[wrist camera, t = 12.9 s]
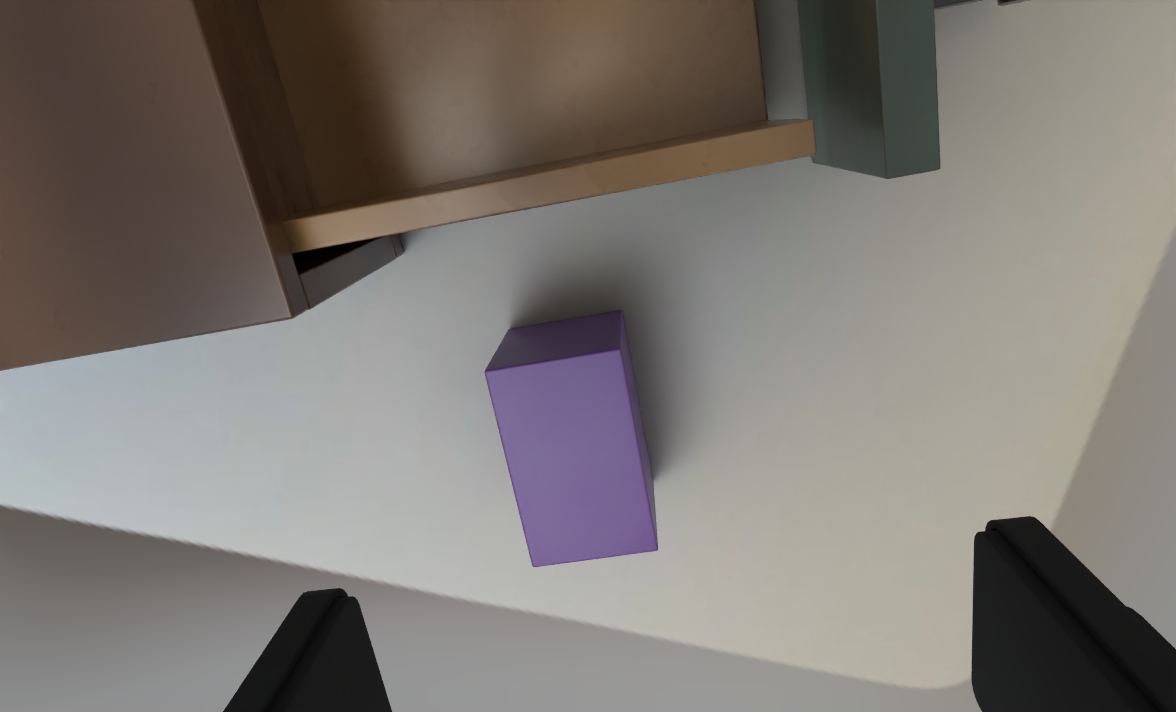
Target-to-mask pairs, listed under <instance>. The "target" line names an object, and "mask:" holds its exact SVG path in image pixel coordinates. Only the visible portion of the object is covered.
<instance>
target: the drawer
mask: <svg viewBox="0 0 1176 712" xmlns="http://www.w3.org/2000/svg"><path fill="white" fill-rule="evenodd" d="M797 1H798V12H799V23H800V34H801V45H802V56H803V67H804V77H805V88H806V99H807V110H808V119H785V120H768V114H767V105H766V96H765V86H764V77H763V68H762V59H761V49H760V40H759V31H758V22H757V12H756V3H755V0H212V3H213V6H214V9H215V13H216V16H217V19H218V22H219V25H220V29H221V32H222V35H223V38H224V41H225V44H226V48H227V51H228V54H229V57H230V60H231V63H232V67H233V70H234V73H235V76H236V79H237V83H238V86H239V89H240V92H241V95H242V98H243V102H244V105H245V108H246V111H247V114H248V117H249V121H250V124H251V127H252V130H253V133H254V137H255V140H256V143H257V146H258V149H259V152H260V156H261V159H262V162H263V165H264V168H265V171H266V175H267V178H268V181H269V184H270V187H271V191H272V194H273V197H274V200H275V203H276V206H277V210H278V213H279V216H280V219H281V222H282V225H283V229H284V232H285V235H286V238H287V241H288V245H289V248H290V251H291V254H292V253H297V252H302V251H308V250H313V249H318V248H324V247H329V246H334V245H340V244H345V243H350V242H355V241H361V240H366V239H371V238H377V237H382V236H387V235H393V234H398V233H403V232H409V231H414V230H419V229H425V228H430V227H435V226H441V225H446V224H451V223H456V222H462V221H467V220H472V219H478V218H483V217H488V216H494V215H499V214H504V213H510V212H515V211H520V210H526V209H531V208H536V207H542V206H547V205H552V204H557V203H563V202H568V201H573V200H579V199H584V198H589V197H595V196H600V195H605V194H611V193H616V192H621V191H627V190H632V189H637V188H643V187H648V186H653V185H658V184H664V183H669V182H674V181H680V180H685V179H690V178H696V177H701V176H706V175H712V174H717V173H722V172H728V171H733V170H738V169H744V168H749V167H754V166H759V165H765V164H770V163H775V162H781V161H786V160H791V159H797V158H802V157H807V156H812V162H813V163H817V164H822V165H826V166H831V167H835V168H840V169H844V170H849V171H854V172H858V173H863V174H867V175H872V176H876V177H881V178H886V179H891V178H896V177H902V176H907V175H913V174H918V173H924V172H929V171H935V170H939V169H940V145H939V120H938V95H937V70H936V45H935V20H934V10H938V9H943V8H948V7H953V6H957V5H962V4H967V3H972V2H977V1H982V0H797ZM1024 1H1029V0H997V4H998V5H999V6H1003V5H1009V4H1014V3H1019V2H1024Z"/></svg>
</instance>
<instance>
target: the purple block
mask: <svg viewBox="0 0 1176 712" xmlns="http://www.w3.org/2000/svg"><path fill="white" fill-rule="evenodd" d="M485 376H486V380H487V384H488V388H489V392H490V396H491V400H492V404H493V408H494V412H495V416H496V420H497V424H498V428H499V433H500V437H501V441H502V445H503V449H504V453H505V457H506V461H507V465H508V469H509V473H510V477H511V481H512V485H513V489H514V493H515V497H516V501H517V505H518V510H519V514H520V518H521V522H522V526H523V530H524V534H525V538H526V542H527V546H528V550H529V554H530V558H531V562H532V566H533V567H539V566H546V565H554V564H561V563H569V562H576V561H584V560H591V559H599V558H606V557H613V556H621V555H628V554H636V553H643V552H651V551H657V550H658V541H657V526H656V512H655V498H654V484H653V478H652V472H651V467H650V461H649V456H648V450H647V444H646V439H645V433H644V428H643V422H642V417H641V411H640V406H639V400H638V395H637V389H636V384H635V378H634V373H633V367H632V361H631V356H630V350H629V345H628V339H627V334H626V328H625V323H624V317H623V312H622V311H621V310H620V311H614V312H608V313H602V314H596V315H591V316H585V317H579V318H573V319H567V320H561V321H556V322H550V323H544V324H538V325H532V326H526V327H520V328H515V329H509V330H508V332H507V333H506V335H505V337H504V339H503V340H502V342H501V344H500V345H499V347H498V349H497V351H496V352H495V354H494V356H493V358H492V359H491V361H490V363H489V365H488V366H487V368H486V370H485Z"/></svg>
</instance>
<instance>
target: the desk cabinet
mask: <svg viewBox="0 0 1176 712" xmlns="http://www.w3.org/2000/svg"><path fill="white" fill-rule="evenodd" d="M402 254H403V249H402V245H401V242H400V238H399V234H393V235H387V236H382V237H377V238H371V239H366V240H361V241H355V242H350V243H345V244H340V245H334V246H329V247H324V248H318V249H313V250H308V251H302V252H297V253H292V254H291V251H290V248H289V245H288V241H287V238H286V235H285V232H284V229H283V225H282V222H281V219H280V216H279V213H278V210H277V206H276V203H275V200H274V197H273V194H272V191H271V187H270V184H269V181H268V178H267V175H266V171H265V168H264V165H263V162H262V159H261V156H260V152H259V149H258V146H257V143H256V140H255V137H254V133H253V130H252V127H251V124H250V121H249V117H248V114H247V111H246V108H245V105H244V102H243V98H242V95H241V92H240V89H239V86H238V83H237V79H236V76H235V73H234V70H233V67H232V63H231V60H230V57H229V54H228V51H227V48H226V44H225V41H224V38H223V35H222V32H221V29H220V25H219V22H218V19H217V16H216V13H215V9H214V6H213V3H212V0H0V371H1V370H7V369H12V368H18V367H24V366H29V365H35V364H41V363H46V362H52V361H57V360H63V359H69V358H74V357H80V356H86V355H91V354H97V353H103V352H108V351H114V350H119V349H125V348H131V347H136V346H142V345H148V344H153V343H159V342H164V341H170V340H176V339H181V338H187V337H193V336H198V335H204V334H209V333H215V332H221V331H226V330H232V329H238V328H243V327H249V326H255V325H260V324H266V323H271V322H277V321H283V320H288V319H293V318H295V317H296V316H298V315H300V314H302V313H303V312H305V311H307V310H310V309H311V308H313V307H315V306H316V305H318V304H320V303H322V302H323V301H325V300H327V299H328V298H330V297H332V296H333V295H335V294H337V293H339V292H340V291H342V290H344V289H345V288H347V287H349V286H350V285H352V284H354V283H356V282H357V281H359V280H361V279H362V278H364V277H366V276H367V275H369V274H371V273H373V272H374V271H376V270H378V269H379V268H381V267H383V266H384V265H386V264H388V263H389V262H391V261H393V260H395V259H396V258H397V257H399V256H401V255H402Z"/></svg>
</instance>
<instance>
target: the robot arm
mask: <svg viewBox="0 0 1176 712" xmlns="http://www.w3.org/2000/svg"><path fill="white" fill-rule="evenodd" d="M972 686H973V691H974V694H975V698H976V700H977V702H978V705H979V707H980V708H981V710H982V712H1176V649H1175V648H1174V647H1173V646H1172V645H1171V644H1170V643H1168V641H1167V640H1165V638H1164V637H1163V636H1161V635H1160V634H1159V633H1158V632H1157V631H1156V630H1155V629H1154V628H1153V627H1152V626H1151V625H1150V624H1149V623H1148V622H1147V621H1146V620H1145V619H1144V618H1143V617H1142V616H1141V615H1139V614H1138V613H1137V612H1136V611H1134V610H1133V609H1131V608H1129V607H1126V606H1125V605H1124V604H1123V603H1122V602H1121V601H1120V600H1119V599H1118V598H1117V597H1116V596H1115V595H1114V594H1113V593H1112V592H1111V591H1110V590H1109V589H1108V588H1107V587H1106V586H1104V584H1103V583H1102V582H1101V581H1100V580H1099V579H1098V578H1097V577H1095V575H1094V574H1093V573H1092V572H1090V570H1089V569H1087V568H1086V567H1085V566H1084V565H1083V564H1082V563H1081V562H1080V561H1079V560H1078V559H1077V558H1076V557H1075V556H1074V555H1073V554H1072V553H1071V552H1070V551H1069V550H1068V549H1067V548H1066V547H1065V546H1064V545H1063V544H1062V543H1061V542H1060V541H1059V540H1058V539H1057V538H1056V537H1055V536H1054V535H1053V534H1052V533H1051V532H1050V531H1049V530H1048V529H1047V528H1046V527H1045V526H1044V525H1043V524H1042V523H1041V522H1040V521H1039V520H1037V519H1036V518H1035V517H1031V516H1028V517H1018V518H1009V519H999V520H991V521H989V522H988V523H987V525H986V529H985V531H984V532H978V533H976V535H975V539H974V575H973V628H972ZM223 712H392V710H391V707H390V703H389V700H388V697H387V694H386V690H385V687H384V684H383V681H382V677H381V674H380V671H379V668H378V664H377V661H376V658H375V655H374V651H373V648H372V645H371V641H370V638H369V635H368V631H367V628H366V625H365V622H364V618H363V615H362V612H361V608H360V605H359V603H358V600H357V599H356V598H355V597H353V596H352V597H348V595H347V593H346V592H345V591H344V590H343V589H340V588H337V589H326V590H317V591H307V592H305V593H303V594H302V595H301V596H300V597H299V599H298V600H297V602H296V603H295V605H294V606H293V608H292V609H291V611H290V612H289V614H288V615H287V617H286V618H285V620H284V621H283V623H282V624H281V626H280V627H279V629H278V630H277V632H276V633H275V635H274V636H273V638H272V639H271V641H270V642H269V644H268V645H267V647H266V648H265V650H264V651H263V653H262V654H261V656H260V657H259V659H258V660H257V662H256V663H255V665H254V666H253V668H252V669H251V671H250V672H249V674H248V675H247V677H246V678H245V680H244V681H243V683H242V684H241V686H240V687H239V689H238V690H237V692H236V693H235V695H234V696H233V698H232V699H231V701H230V702H229V704H228V705H227V707H226V708H225V710H224V711H223Z"/></svg>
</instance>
